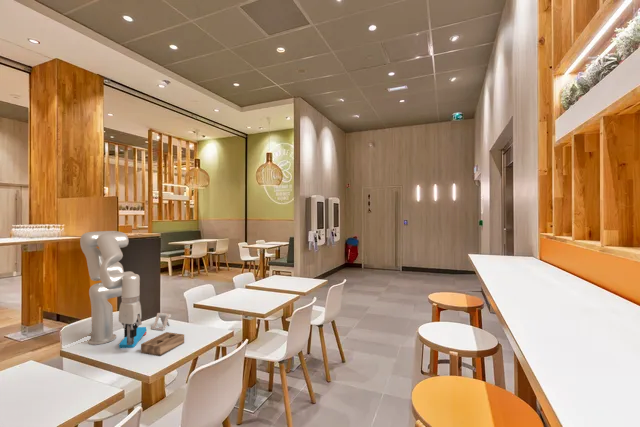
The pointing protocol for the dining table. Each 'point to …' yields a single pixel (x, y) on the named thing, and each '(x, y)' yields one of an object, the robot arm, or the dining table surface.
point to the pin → (129, 340)
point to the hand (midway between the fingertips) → (130, 336)
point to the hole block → (162, 344)
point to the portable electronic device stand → (164, 320)
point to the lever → (140, 332)
